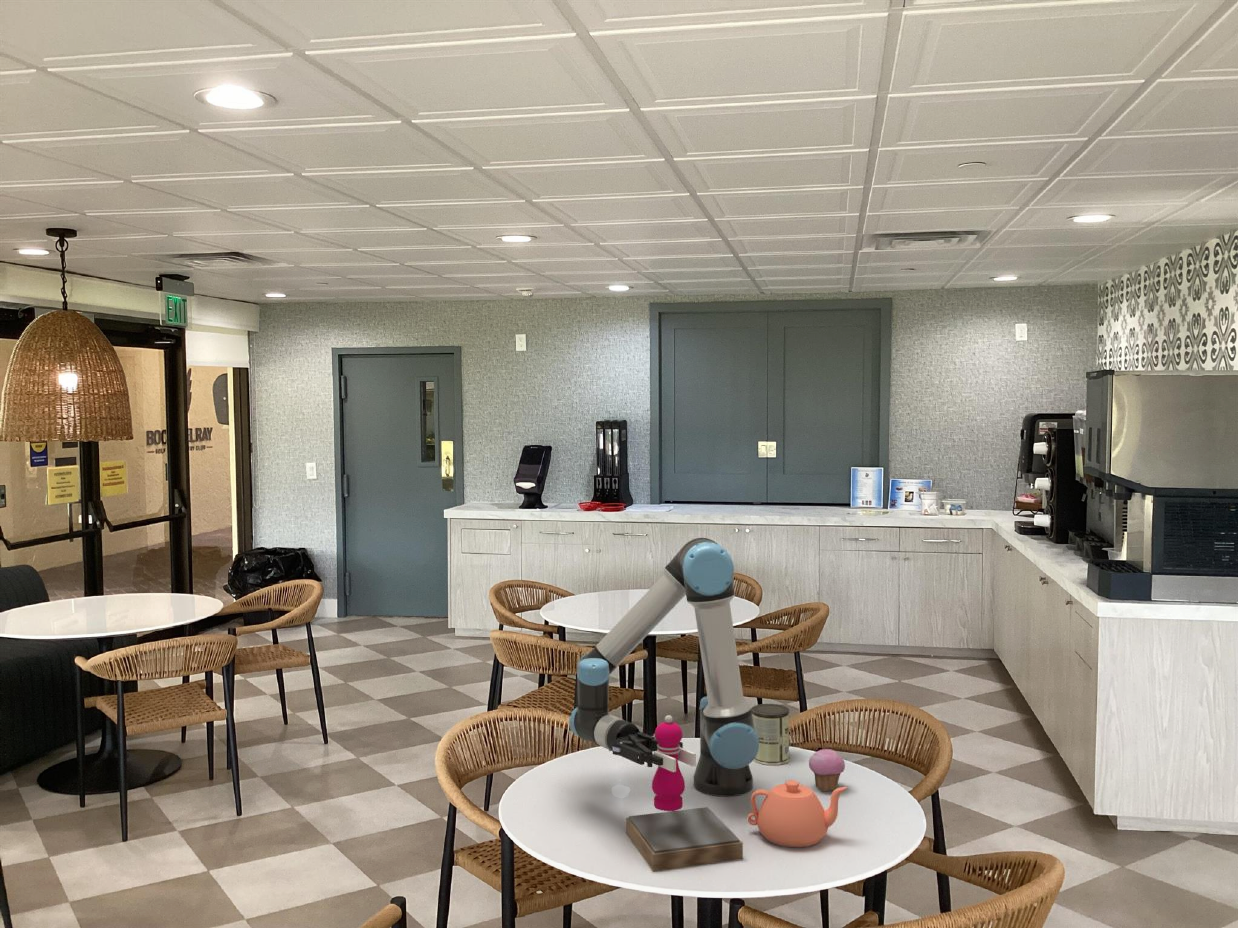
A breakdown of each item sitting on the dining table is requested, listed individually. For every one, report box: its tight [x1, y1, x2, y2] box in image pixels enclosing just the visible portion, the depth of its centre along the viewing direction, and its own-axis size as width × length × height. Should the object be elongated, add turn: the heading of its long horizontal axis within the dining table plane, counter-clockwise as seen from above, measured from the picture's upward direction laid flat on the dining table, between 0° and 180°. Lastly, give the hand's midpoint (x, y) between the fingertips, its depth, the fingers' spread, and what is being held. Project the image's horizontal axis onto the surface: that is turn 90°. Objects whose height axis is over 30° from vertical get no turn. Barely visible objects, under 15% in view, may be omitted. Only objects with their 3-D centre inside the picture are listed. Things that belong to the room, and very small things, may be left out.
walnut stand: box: [625, 806, 744, 872], centre depth 217 cm, size 20×20×4 cm
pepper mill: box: [651, 714, 686, 812], centre depth 215 cm, size 7×7×20 cm
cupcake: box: [808, 748, 846, 792], centre depth 250 cm, size 9×9×10 cm
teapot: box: [747, 779, 848, 848], centre depth 221 cm, size 22×16×12 cm
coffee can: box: [751, 703, 790, 766], centre depth 272 cm, size 10×10×14 cm
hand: (684, 762), depth 211 cm, fingers closed on pepper mill, 5 cm apart
